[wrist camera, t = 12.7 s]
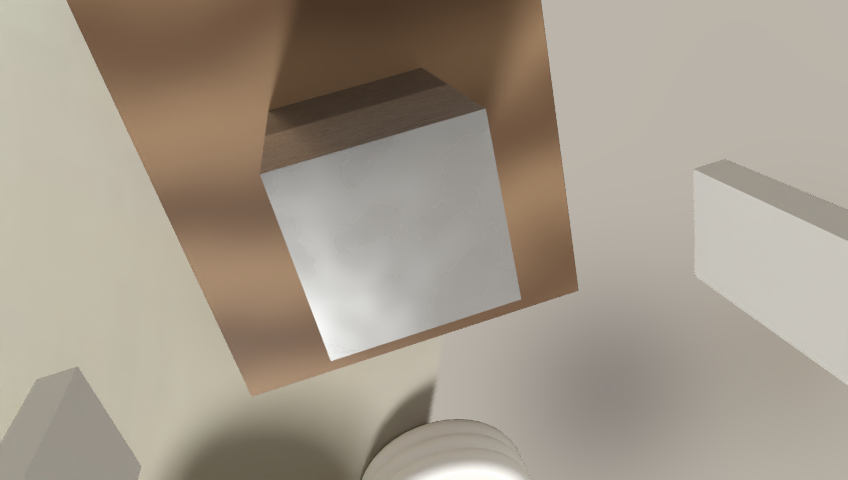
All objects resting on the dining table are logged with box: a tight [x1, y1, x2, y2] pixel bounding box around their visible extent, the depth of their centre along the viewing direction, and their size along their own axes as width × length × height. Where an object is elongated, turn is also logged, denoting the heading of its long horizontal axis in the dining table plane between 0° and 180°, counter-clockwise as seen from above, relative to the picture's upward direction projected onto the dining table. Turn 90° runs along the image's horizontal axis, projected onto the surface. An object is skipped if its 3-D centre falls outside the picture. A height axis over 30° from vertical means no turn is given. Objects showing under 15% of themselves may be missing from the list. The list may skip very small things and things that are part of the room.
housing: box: [260, 68, 521, 361], centre depth 20 cm, size 6×6×8 cm
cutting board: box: [67, 0, 578, 396], centre depth 25 cm, size 18×16×2 cm
